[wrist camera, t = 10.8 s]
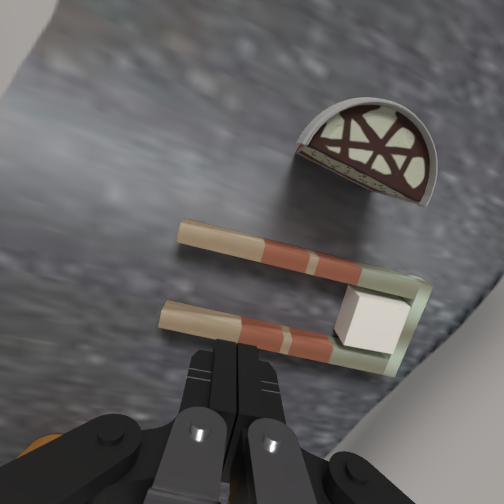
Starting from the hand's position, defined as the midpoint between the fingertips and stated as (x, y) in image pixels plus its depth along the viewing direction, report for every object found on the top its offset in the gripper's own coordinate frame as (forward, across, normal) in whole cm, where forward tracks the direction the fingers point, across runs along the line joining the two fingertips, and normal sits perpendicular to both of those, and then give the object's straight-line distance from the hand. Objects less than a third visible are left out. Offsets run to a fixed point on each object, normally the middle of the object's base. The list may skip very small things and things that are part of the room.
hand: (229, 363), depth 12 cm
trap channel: (+26, -8, +7) cm, 28 cm away
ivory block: (+26, -18, +7) cm, 33 cm away
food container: (+26, -10, -11) cm, 30 cm away
